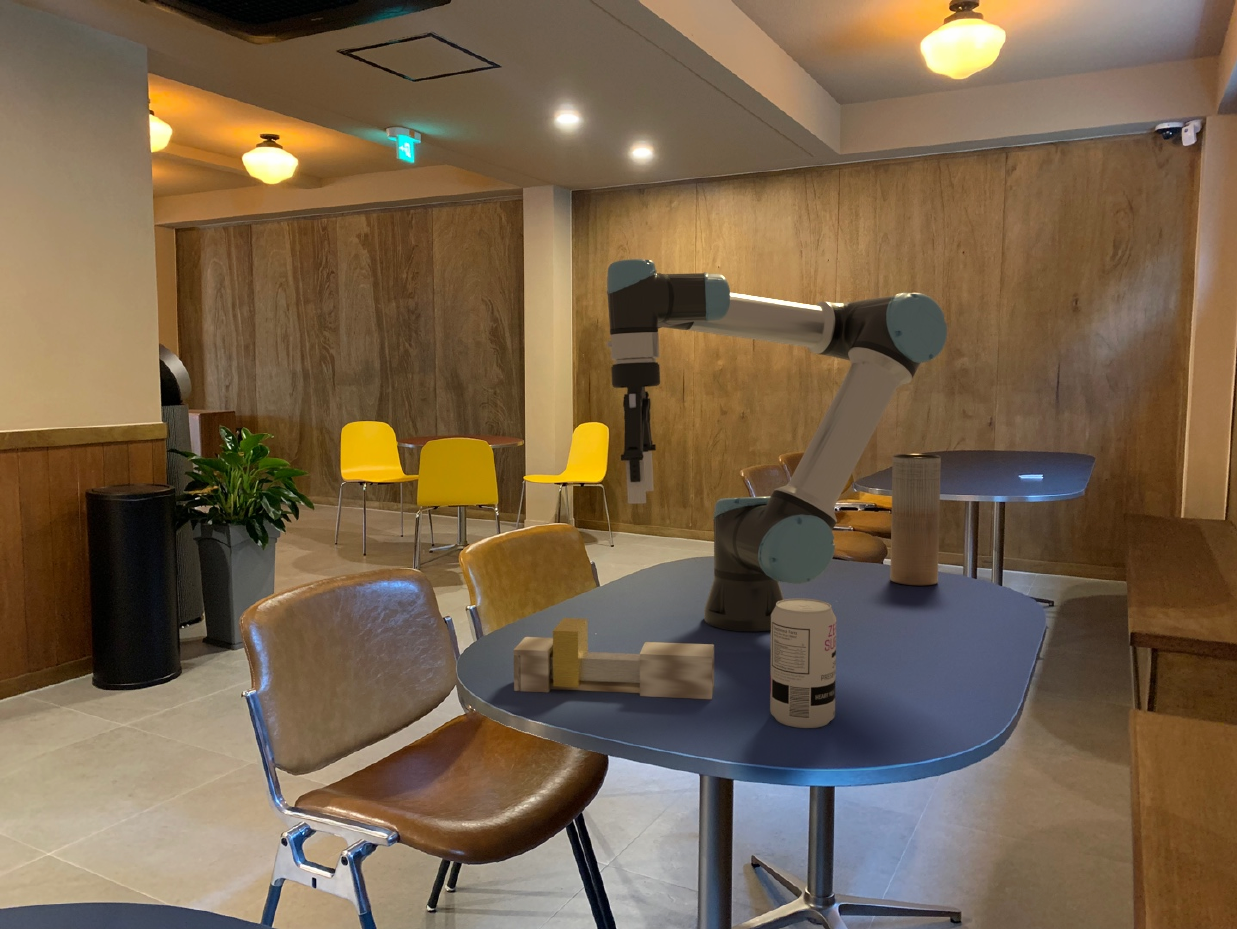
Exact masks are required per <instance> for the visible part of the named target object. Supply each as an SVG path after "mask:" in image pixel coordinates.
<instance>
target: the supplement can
mask: <svg viewBox="0 0 1237 929" xmlns="http://www.w3.org/2000/svg"><path fill="white" fill-rule="evenodd" d="M836 661H837V617H836V615H835V614H834V611H833V609H832V605H831V603H828V602H826V601H823V600H820V599H813V598H788V599H787V598H786V599H784V600H781V601H778V602H777V603H776V607H775V608H774V610H773V612H772V614H771V630H770V684H769V685H770V689H769V690H770V692H769V694H770V695H769V696H770V697H769V699H770V700H769V701H770V703H769V704H770V705H769V706H770V708H769V711H770V714H771V716H773V717H774V718H775V720H776V721H777V722H779V724H782V725H785V726H788V727H792V728H798V729H816V728H820V727H825V726H827V725H828V724H829V723H830V721H833V720H834V718H835V716H836V678H837V677H836V674H837V672H836V670H837V669H836V666H837V662H836Z"/></svg>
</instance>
